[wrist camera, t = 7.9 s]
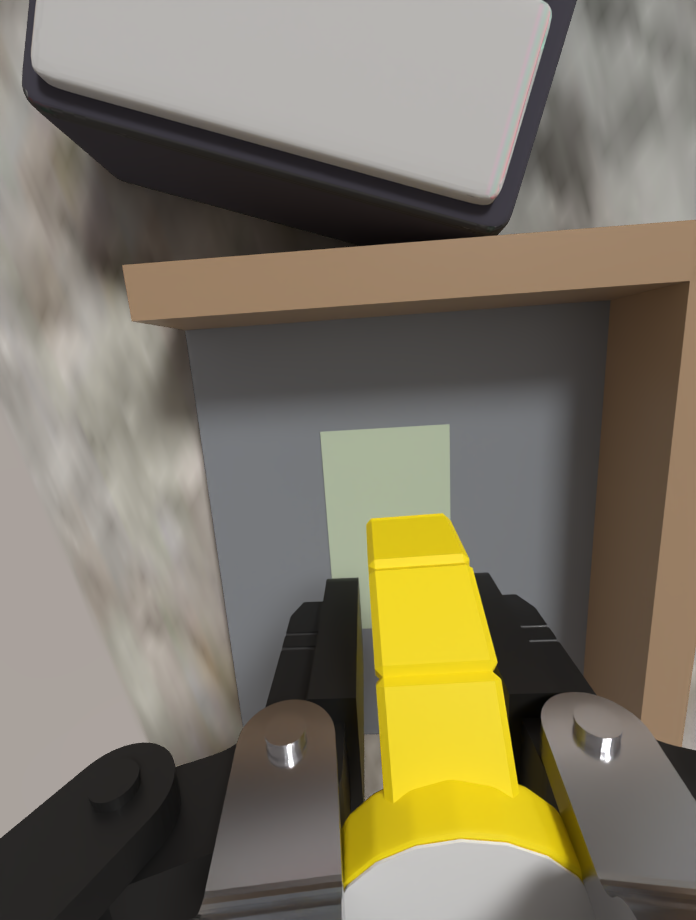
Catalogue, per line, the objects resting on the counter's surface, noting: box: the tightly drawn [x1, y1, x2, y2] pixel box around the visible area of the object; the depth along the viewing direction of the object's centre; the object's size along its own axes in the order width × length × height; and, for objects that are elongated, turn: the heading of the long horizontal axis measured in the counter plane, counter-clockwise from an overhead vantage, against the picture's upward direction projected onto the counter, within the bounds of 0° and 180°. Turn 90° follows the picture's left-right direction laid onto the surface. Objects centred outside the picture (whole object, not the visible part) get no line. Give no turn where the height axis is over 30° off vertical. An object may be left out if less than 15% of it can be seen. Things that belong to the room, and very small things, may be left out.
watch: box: [341, 513, 596, 920], centre depth 7 cm, size 6×3×6 cm, turn 5°
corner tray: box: [122, 220, 696, 747], centre depth 13 cm, size 16×14×4 cm
